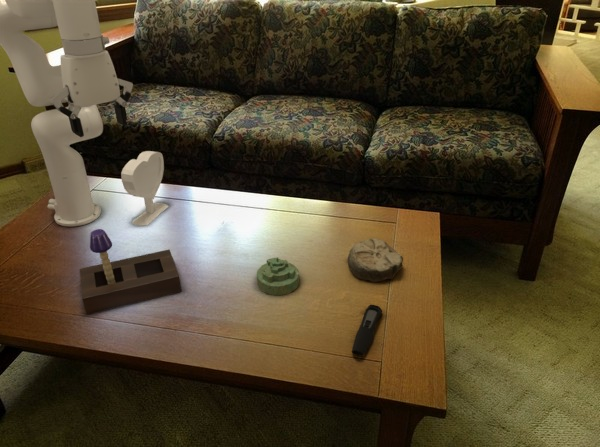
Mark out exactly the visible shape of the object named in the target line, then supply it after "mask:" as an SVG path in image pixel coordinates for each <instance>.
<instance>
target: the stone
mask: <svg viewBox="0 0 600 447" xmlns="http://www.w3.org/2000/svg"><path fill="white" fill-rule="evenodd" d="M403 261H404V257H403V255H402V254H400V253H399V252H398V251H397V250H396V249H394V248H393V247H392V246H391V245H389V243H387V241H385V240H384V239H379V238H375V237H373V238H367V239H364V240H361V241H359V242H356V243H355V244H354V245H353V246H352V247H351V248H350V250H349V253H348V257H347V264H348V268H349V269H350V270H351V273H352V274H353V276H354V277H356V278H358V279H360V280H362V281H370V282H372V283H376V282H380V281H381V282H382V281H385V280H387V279H393V278H394V277H395V275H396V274H397V273H398V272H399V271H400V270H401V268H402V267H403V266H404V265H403Z"/></svg>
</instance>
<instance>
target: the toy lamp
mask: <svg viewBox="0 0 600 447" xmlns="http://www.w3.org/2000/svg"><path fill="white" fill-rule="evenodd" d="M89 236H90V237H89V249H90V251H91V252H92V253H94V254H99V258H100V259H101V264H103V269H104V270H105V275H106V279H107V281H108V282H107V283H108V285H109V284H114V283H116V281H115V280H114V275H113V270H112V269H111V268H112V266H111V264H110V262H111V260H110V258H109V253H108V251H110V250H111V249H112V247H113V242H112V240H111V239H110V237H109V236H108V234H107V232H106V231H105V230H104V229H103V228H96V229H94V230H92V231H91V232H90V234H89Z"/></svg>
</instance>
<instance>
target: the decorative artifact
mask: <svg viewBox="0 0 600 447" xmlns="http://www.w3.org/2000/svg"><path fill="white" fill-rule="evenodd" d="M256 284H257V288H258V289H260V291H262V292H263V293H265V294H268V295H272V296H283V295H287V294H290V293H292V292H294V291H295V290H296V289H297V288H298V286H299V284H300V270H299V268H297V267H296V265H295V264H293V263H291V262H289V261H288V260H286V259H281V258H279V257H271V258H268V259H266V263H264V264H262V265H261V266H260V267H258V269H257V271H256Z"/></svg>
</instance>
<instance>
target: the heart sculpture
mask: <svg viewBox="0 0 600 447" xmlns="http://www.w3.org/2000/svg"><path fill="white" fill-rule="evenodd" d="M164 161H165V160H164V155H163V154H162V153H161V152H159V151H153V150H152V151H151V150H145V151H142V152H141V153H139V155H138V156H137V158H136V159H135V158H132V159H130V160H129V161H128V162H126V164H125V165H124V167H123V168H122V170H121V173H120V177H121V183H122V186H123V189H124V190H125V191H126V192H127V194H129V195H130V196H132V197H136V198H142V199H143V200H144V207H145V211H143V212H142V213H141V214H140V215H139V216H137V218H135V219H134V220H133V221H132V224H133V225H136V226H148V225H149V224H150V223H151V222H153V221H154V220H156V218H157V217H158V216H159V215H160V214H162V213H163V212H164V211H165V210H167V208H168V207H169V205H168V204H166V203H163V202H157V203H156V202H155V203H154V200H155V197H156V195H157V193H158V190H159V188H160V186H161V183H162V181H163V177H164V171H165V163H164Z"/></svg>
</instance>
